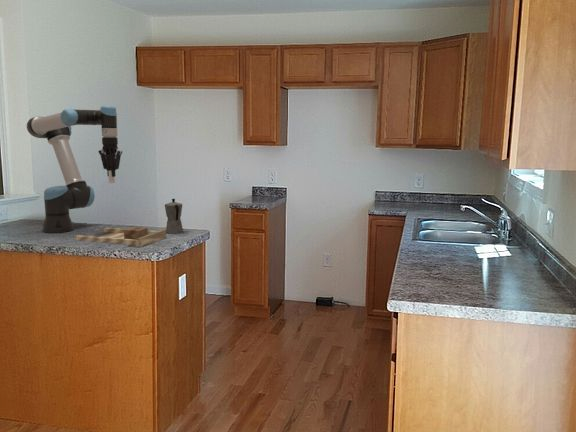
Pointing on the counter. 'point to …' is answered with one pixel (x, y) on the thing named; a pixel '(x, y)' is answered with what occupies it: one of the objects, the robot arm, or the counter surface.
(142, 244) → the wooden cutlery tray
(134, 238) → the walnut block
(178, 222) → the coffeepot
